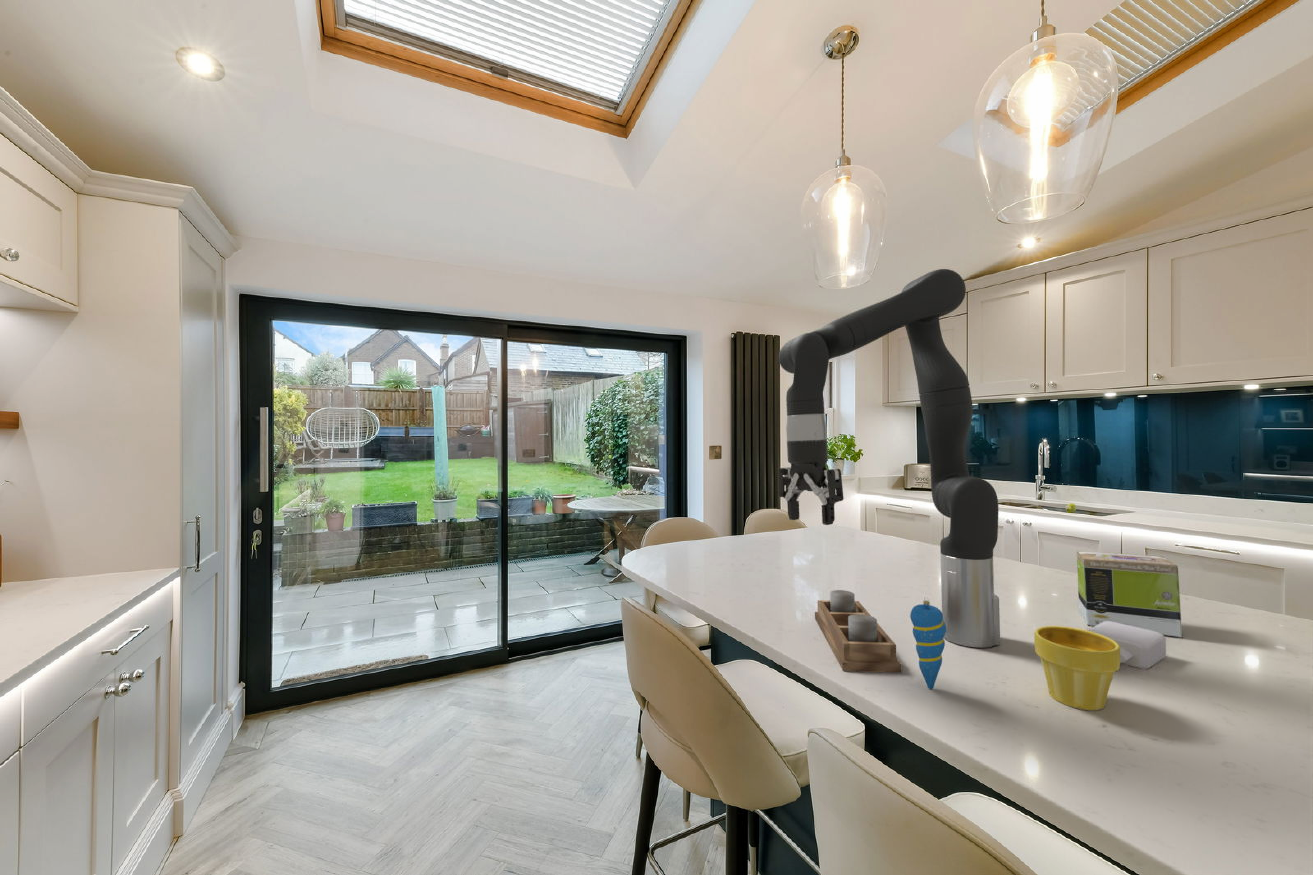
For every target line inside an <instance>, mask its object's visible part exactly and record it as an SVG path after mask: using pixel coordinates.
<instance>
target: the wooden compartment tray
mask: <svg viewBox="0 0 1313 875" xmlns="http://www.w3.org/2000/svg"><path fill="white" fill-rule="evenodd" d="M829 594H830V598H829V599H830V600H824V599H823V600H822V599H821V600H820V599H819V600H817V611H814V619H815V621H816V623H817V625H818V627H819V629H820V631H821V632H822V635H823V636H824V638H825V640H826V642H827V644H828V646H829V648H830V649H831V652H832V653H833V655H834V657H835V659H836V660H837V663H838V664H839V666H840V669H841V671H843V672H862V673H863V672H870V673H894V674H895V673H897V674H902V673H903V670H902V667H903V666H902V663H901V662H900V661H899V660H898V658H897V644H896V643H895V641H893V639H892V638H891V637H890V636H889V635H888V634H887V632H886V631H885V630H884V629H883V628H882V627H881V625H880V624H879V623H878V619H877V618H876V617H874V616H872V615H871V614H870V613H869V612H868V610H867V609H866V608H865V607H864V606H863V604H862V603H860V601H859V600H855V599H856V598H855V593H854V592H853V591H850V590H845V589H844V590H843V589H836V590H835V589H834V590H831V591H830V593H829Z"/></svg>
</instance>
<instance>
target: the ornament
mask: <svg viewBox="0 0 1313 875" xmlns="http://www.w3.org/2000/svg"><path fill="white" fill-rule="evenodd" d="M925 598H926V597H924V600H923V604H916V605H914V606H913V608H911V610H910V614H909V615H910V617H909V618H910V620H911V623H912V625H913V628H912V634H913V638H914V640H915V642H916V644H915V650H916V653H917V656H918V659H919V660H918V666H919V670H920V672H921V674H922V677H923V679H924V681H925V684H926V686H927V688H928V690H933V689H934V688H935V684H936V681H937V679H938V678H937V677H938V676H939V672H940V669H941V667H942V663H943V657H942V656H943V652H944V650H945V645H946V644H945V638H944V636H945V633H946V625H945V623H944V620H943V614H942V610H941V609H939V607H937V606H934V605H930V603H931V602H930V601H929V600H926V599H925Z"/></svg>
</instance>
